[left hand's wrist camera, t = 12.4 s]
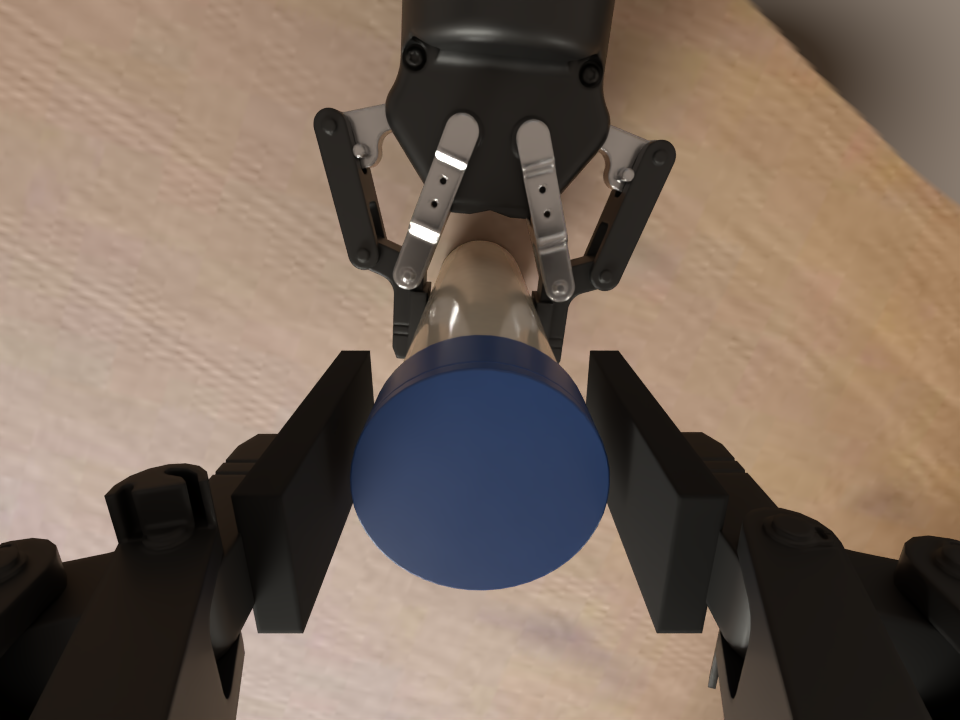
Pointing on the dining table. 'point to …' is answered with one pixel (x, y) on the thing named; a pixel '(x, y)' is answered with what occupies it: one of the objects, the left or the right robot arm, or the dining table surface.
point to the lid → (480, 465)
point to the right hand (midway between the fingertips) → (475, 369)
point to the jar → (480, 300)
